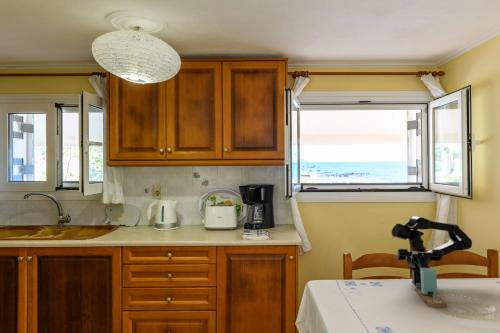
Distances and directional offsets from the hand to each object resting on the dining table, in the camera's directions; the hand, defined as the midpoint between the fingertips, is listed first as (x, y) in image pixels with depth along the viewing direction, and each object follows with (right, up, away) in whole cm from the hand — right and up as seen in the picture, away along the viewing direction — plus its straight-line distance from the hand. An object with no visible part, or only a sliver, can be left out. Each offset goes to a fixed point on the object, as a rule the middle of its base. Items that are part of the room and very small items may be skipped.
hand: (424, 271), depth 145 cm
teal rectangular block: (-1, -7, -6) cm, 10 cm away
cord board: (-1, -9, -7) cm, 12 cm away
